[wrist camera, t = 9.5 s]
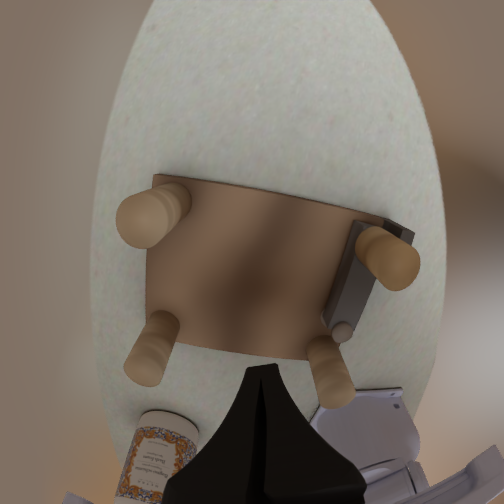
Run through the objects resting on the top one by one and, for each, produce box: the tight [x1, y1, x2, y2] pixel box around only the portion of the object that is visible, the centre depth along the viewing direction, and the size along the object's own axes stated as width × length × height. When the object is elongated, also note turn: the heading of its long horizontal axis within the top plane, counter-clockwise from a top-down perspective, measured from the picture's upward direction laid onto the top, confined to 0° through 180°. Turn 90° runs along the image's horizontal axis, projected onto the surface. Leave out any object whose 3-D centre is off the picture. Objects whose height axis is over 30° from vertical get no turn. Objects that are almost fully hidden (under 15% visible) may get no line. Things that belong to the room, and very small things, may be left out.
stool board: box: [116, 174, 415, 409], centre depth 16 cm, size 16×12×6 cm
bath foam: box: [114, 411, 199, 504], centre depth 15 cm, size 7×7×20 cm
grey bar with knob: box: [322, 220, 420, 343], centre depth 15 cm, size 8×2×5 cm, turn 168°
